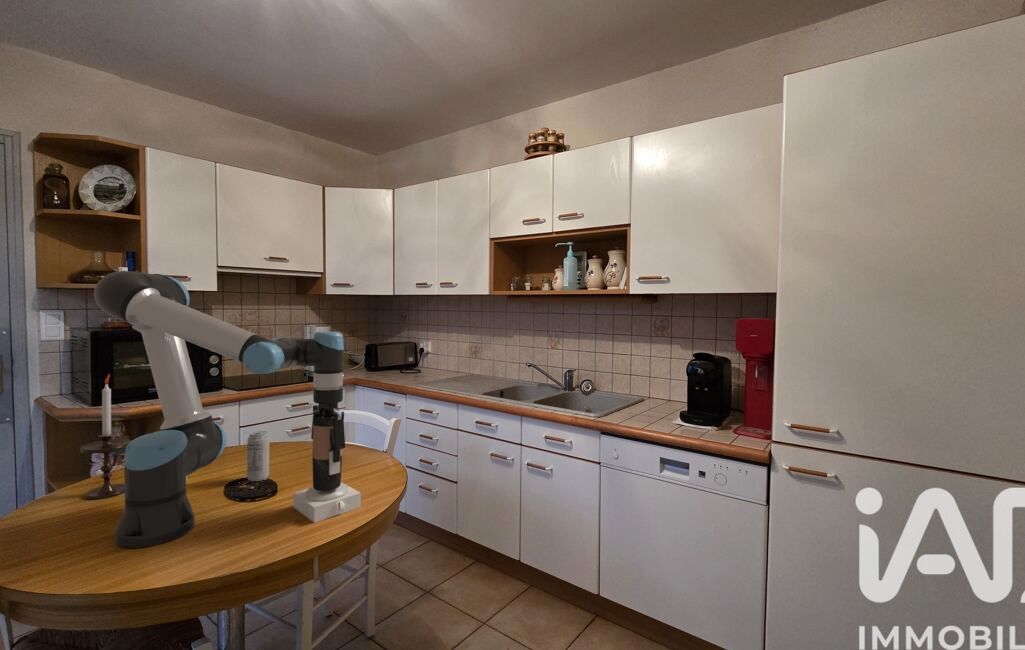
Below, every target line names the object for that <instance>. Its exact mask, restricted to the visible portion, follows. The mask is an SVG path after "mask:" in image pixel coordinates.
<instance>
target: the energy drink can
mask: <svg viewBox="0 0 1025 650" xmlns="http://www.w3.org/2000/svg"><path fill="white" fill-rule="evenodd" d="M246 441H247V445H246V446H247V449H246V450H247V453H246V454H247V456H246V457H247V461H246V463H247V468H246V469H247V470H246V473H247V475H246V476H247V479H246V480H248V481H249V480H250V481H262V480H265V481H266V480H268V477H269V476H270V436H269V435H268V431H265V430H258V431H252V432H249V436H248V438H247V440H246ZM250 481H249V482H250ZM262 482H263V481H262Z"/></svg>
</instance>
